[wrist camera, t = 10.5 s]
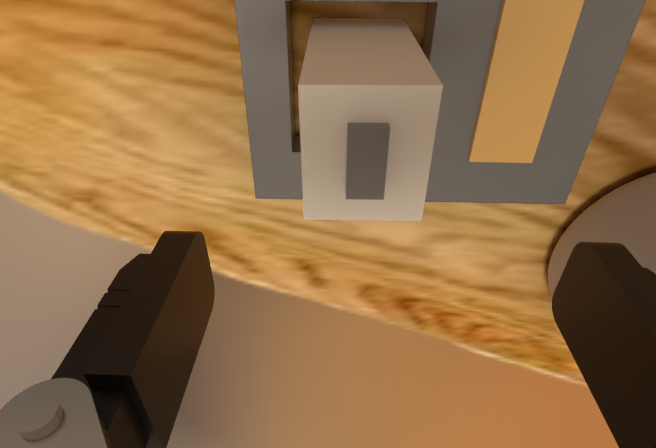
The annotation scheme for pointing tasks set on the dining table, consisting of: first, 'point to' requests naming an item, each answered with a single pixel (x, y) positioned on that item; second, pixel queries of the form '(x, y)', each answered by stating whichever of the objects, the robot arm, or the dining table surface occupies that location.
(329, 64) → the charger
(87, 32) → the dining table surface
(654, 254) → the cylinder vase
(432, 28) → the plate
